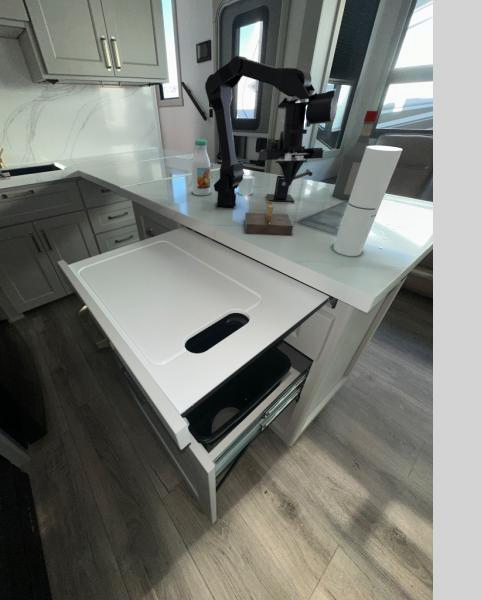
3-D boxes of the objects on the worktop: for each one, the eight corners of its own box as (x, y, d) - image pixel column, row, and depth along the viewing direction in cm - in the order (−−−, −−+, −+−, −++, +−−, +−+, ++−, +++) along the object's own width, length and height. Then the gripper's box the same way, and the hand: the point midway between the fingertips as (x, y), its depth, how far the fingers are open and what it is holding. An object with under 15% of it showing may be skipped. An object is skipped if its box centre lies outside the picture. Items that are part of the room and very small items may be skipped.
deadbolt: (271, 221, 82) (273, 206, 79) (266, 221, 82) (268, 206, 79) (269, 215, 86) (272, 201, 83) (265, 215, 86) (267, 200, 83)
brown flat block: (245, 233, 82) (246, 223, 81) (244, 221, 90) (245, 212, 88) (291, 235, 82) (293, 225, 80) (286, 222, 90) (288, 213, 88)
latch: (310, 173, 104) (309, 167, 103) (312, 176, 100) (312, 170, 99) (279, 184, 107) (277, 178, 106) (280, 188, 104) (279, 182, 102)
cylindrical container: (329, 244, 77) (360, 145, 61) (352, 243, 77) (389, 145, 62) (340, 256, 71) (378, 150, 56) (366, 255, 72) (410, 150, 56)
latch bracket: (290, 197, 112) (294, 175, 106) (293, 203, 105) (298, 180, 100) (266, 196, 112) (269, 174, 107) (268, 202, 106) (271, 179, 100)
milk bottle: (190, 195, 113) (189, 141, 101) (194, 190, 119) (193, 138, 107) (208, 196, 112) (209, 141, 100) (211, 191, 118) (212, 139, 106)
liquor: (361, 199, 110) (393, 111, 91) (344, 202, 107) (374, 111, 89) (344, 193, 117) (371, 110, 98) (328, 196, 114) (352, 110, 95)
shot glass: (252, 192, 118) (254, 175, 113) (253, 196, 112) (255, 179, 108) (237, 191, 118) (238, 174, 114) (237, 196, 113) (238, 178, 108)
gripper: (304, 129, 84) (298, 183, 92) (251, 129, 80) (249, 185, 87) (328, 125, 75) (319, 185, 82) (270, 124, 70) (266, 188, 77)
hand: (288, 185), depth 82 cm, fingers closed
